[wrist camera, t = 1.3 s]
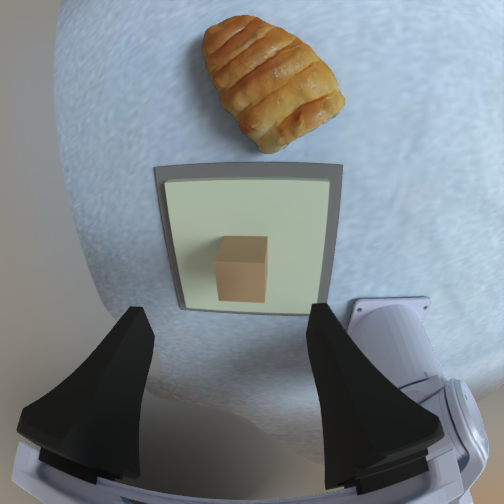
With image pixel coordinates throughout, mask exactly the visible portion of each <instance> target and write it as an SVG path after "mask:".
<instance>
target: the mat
mask: <svg viewBox="0 0 504 504" xmlns="http://www.w3.org/2000/svg"><path fill="white" fill-rule="evenodd" d="M155 174H156V182H157V189H158V196H159V203H160V209H161V215H162V221H163V227H164V233H165V238H166V244H167V249H168V254H169V259H170V264H171V269H172V274H173V278H174V283H175V287H176V292H177V296H178V300H179V304H180V309H181V310H191V311H204V312H218V313H234V314H253V315H281V316H310V314H295V313H261V312H239V311H222V310H207V309H194V308H186V303H185V299H184V294H183V289H182V285H181V280H180V275H179V270H178V265H177V259H176V254H175V249H174V243H173V237H172V231H171V225H170V219H169V212H168V206H167V199H166V191H165V184H164V183H165V182H166V181H168V180H174V179H192V178H218V177H295V178H321V179H328V180H329V182H330V185H329V200H328V212H327V223H326V234H325V243H324V252H323V261H322V269H321V277H320V284H319V292H318V299H317V303H327V298H328V292H329V286H330V280H331V273H332V267H333V260H334V252H335V245H336V237H337V228H338V219H339V210H340V199H341V187H342V174H343V165H339V164H323V163H300V162H224V163H202V164H185V165H172V166H161V167H155Z"/></svg>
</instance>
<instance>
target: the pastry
mask: <svg viewBox="0 0 504 504" xmlns="http://www.w3.org/2000/svg"><path fill="white" fill-rule="evenodd" d="M202 54H203V56H204V59H205V61H206V70H207V71H208V72H209V77H210V79H211V80H212V82H213V84H214V86H215V88H216V89H217V90H218V92H219V96H220V101H221V105H222V107H223V108H224V109H225V110H227V111H228V112H230V113H231V114H232V116H233V117H234V118H235V119H236V120H237V122H238V123H239V127H240V129H241V131H242V132H243V133H244V134H245V135H246V136H248V137H249V138H251V139H252V140H253V141H254V142H255V143H256V144H257V146H258V149H259V150H260V151H261V152H263V153H266V154H272V153H275V152H278V151H280V150H281V149H284V148H285V147H286V146H287V145H288V144H289V143H290V142H292V141H293V140H295V139H297V138H299V137H301V136H303V135H305V134H307V133H309V132H311V131H313V130H314V129H316V128H317V127H319V126H320V125H321V124H324V123H327V122H328V121H329V120H331V119H333V118H334V117H336V116H337V115H338V114H339V113H340V111H341V110H342V108H343V106H344V105H345V98H344V97H343V95H342V94H341V92H340V90H339V88H338V83H337V80H336V78H335V76H334V74H333V73H332V71H331V69H329V67H328V65H326V64H325V63H324V62H323V61H322V60H321V59H320V58H319V57H318V56H317V55H316V54H315V52H314V51H313V50H312V48H311V47H310V46H309V45H307V44H305V43H304V42H302V41H301V40H300V39H299V38H298V37H296V36H295V35H292V34H290V33H288V32H286V31H285V30H283V29H282V28H279V27H276V26H274V25H271V24H268V23H266V22H265V21H262V20H261V19H260V18H258V17H255V16H249V15H242V16H234V17H231V18H229V19H226V20H224V21H222V22H221V23H219V24H217V25H213V26H211V27H210V28H208V29H207V30H206V31H205V35H204V40H203V44H202Z"/></svg>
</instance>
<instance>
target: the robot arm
mask: <svg viewBox="0 0 504 504" xmlns="http://www.w3.org/2000/svg"><path fill="white" fill-rule="evenodd" d="M431 302H432V301H431V299H430V298H429V297H417V298H385V299H358V300H357V301H356V302H355V303H354V307H353V311H352V315H351V319H350V322H349V326H348V330H347V332H346V331H345V329H344V328H343V326H342V325H341V323H340V322H339V321H338V319H337V318H336V316H335V315H334V313H333V312H332V310H331V309H330V307H329V306H328V304H327V303H313V304H312V305H311V311H310V316H309V321H308V327H307V332H306V338H307V346H308V354H309V359H310V363H311V367H312V371H313V375H314V379H315V384H316V388H317V392H318V396H319V401H320V407H321V416H322V426H323V438H324V456H325V488H326V490H328V489H333V488H338V487H343V486H344V488H345V489H342V490H337V491H333V492H327V493H321V494H315V495H309V496H301V497H292V498H283V499H267V500H219V499H204V498H193V497H185V496H177V495H171V494H165V493H159V492H154V491H149V490H144V489H140V488H136V487H132V486H128V485H124V484H121V483H117V482H114V480H115V478H117V479H120V480H122V477H127V478H130V479H137V478H139V477H140V467H139V421H140V409H141V402H142V397H143V392H144V388H145V384H146V380H147V376H148V372H149V368H150V364H151V360H152V355H153V348H154V340H155V335H154V333H153V331H152V328H151V326H150V324H149V321H148V319H147V317H146V314H145V312H144V309H143V307H132V306H130V307H129V309H128V310H127V311H126V312H125V313H124V315H123V316H122V317H121V318H120V320H119V321H118V322H117V323H116V325H115V326H114V327H113V328H112V330H111V331H110V332H109V333H108V334H107V336H106V337H105V338H104V339H103V341H102V342H101V343H100V344H99V345H98V347H97V348H96V349H95V350H94V351H93V352H92V353H91V355H90V356H89V357H88V358H87V359H86V360H85V361H84V362H83V363H82V364H81V365H80V366H79V367H78V368H77V369H76V370H75V371H74V372H73V373H72V374H71V375H70V376H69V377H67V378H66V379H65V380H64V381H63V382H62V383H60V384H59V385H58V386H57V387H55V388H54V389H53V390H51V391H50V392H49V393H47V394H46V395H44V396H43V397H41V398H40V399H38V400H37V401H35V402H33V403H32V404H30V405H28V406H26V407H25V408H23V410H22V413H21V416H20V420H19V423H18V426H17V432H18V433H19V434H21V435H22V436H23V437H25V438H27V439H28V440H30V441H32V442H33V443H35V444H36V445H38V446H40V447H41V450H40V451H38V450H36V449H35V448H33V447H31V446H29V445H27V444H25V443H24V442H22V441H19V445H18V449H17V453H16V457H15V462H14V467H13V472H12V478H11V480H12V481H13V482H14V483H16V484H17V485H19V486H20V487H22V488H23V489H24V490H26V491H27V492H29V493H30V494H32V495H33V496H35V497H36V498H37V499H39V500H40V501H41V502H43V503H44V504H132V503H130V502H129V500H128V499H132V500H136V501H140V502H145V503H149V504H474V503H473V500H472V497H471V494H470V491H469V489H470V487H471V486H472V485H473V483H474V482H475V481H476V480H477V478H478V477H479V476H480V474H481V473H482V471H483V470H484V468H485V466H486V463H487V458H488V455H489V445H488V438H487V435H486V432H485V430H484V425H483V421H482V417H481V414H480V411H479V409H478V406H477V404H476V402H475V399H474V397H473V395H472V393H471V392H470V390H469V388H468V387H467V385H466V384H465V383H464V382H463V381H462V380H456V379H455V378H452V379H450V380H449V381H447V380H446V378H445V375H444V372H443V370H442V368H441V365H440V363H439V360H438V358H437V356H436V353H435V351H434V349H433V346H432V344H431V342H430V340H429V338H428V335H427V333H426V331H425V329H424V327H423V325H422V323H423V321H424V319H425V316H426V314H427V312H428V310H429V307H430V305H431ZM424 306H425V307H424ZM358 308H361V309H359V310H357V309H358ZM127 498H128V499H127Z"/></svg>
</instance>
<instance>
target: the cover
mask: <svg viewBox="0 0 504 504" xmlns="http://www.w3.org/2000/svg"><path fill="white" fill-rule="evenodd" d="M164 184H165V191H166V199H167V206H168V212H169V219H170V225H171V231H172V237H173V243H174V249H175V254H176V259H177V265H178V270H179V275H180V280H181V285H182V289H183V294H184V299H185V303H186V308H194V309H207V310H222V311H239V312H261V313H295V314H310V311H311V305H312V304H313V303H317V299H318V292H319V284H320V277H321V269H322V261H323V252H324V243H325V234H326V223H327V212H328V200H329V185H330V182H329V180H328V179H321V178H295V177H218V178H192V179H174V180H168V181H166V182H165V183H164Z"/></svg>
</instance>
